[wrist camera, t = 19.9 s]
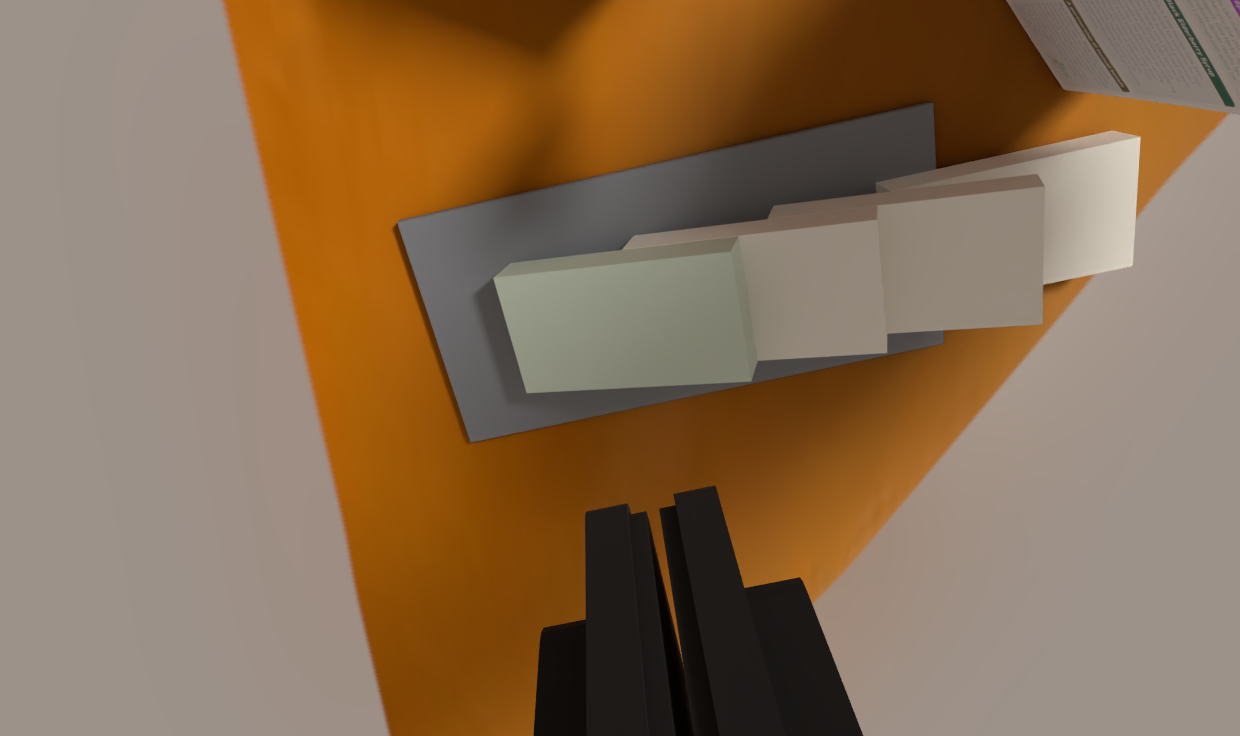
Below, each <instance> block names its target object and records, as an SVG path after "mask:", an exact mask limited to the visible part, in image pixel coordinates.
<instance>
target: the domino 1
mask: <svg viewBox="0 0 1240 736" xmlns="http://www.w3.org/2000/svg"><path fill="white" fill-rule="evenodd" d="M493 279H494V282H495V286H496V289H497V293H498V296H499V300H500V303H501V306H502V310H503V313H504V317H505V320H506V324H507V327H508V331H509V334H510V337H511V341H512V344H513V348H514V351H515V355H516V358H517V362H518V365H519V368H520V372H521V375H522V379H523V382H524V386H525V389H526V393H541V392H560V391H579V390H598V389H618V388H637V387H656V386H676V385H695V384H714V383H733V382H751V381H752V378H753V374H754V371H755V368H756V365H757V354H756V348H755V341H754V334H753V328H752V321H751V315H750V308H749V301H748V295H747V288H746V282H745V275H744V268H743V262H742V255H741V249H740V242H739V236H737V237H728V238H720V239H711V240H702V241H694V242H685V243H677V244H668V245H660V246H651V247H642V248H634V249H625V250H617V251H608V252H600V253H591V254H583V255H574V256H565V257H557V258H548V259H540V260H531V261H523V262H514V263H510V264H509V265H508V266H507V267H505V268H504V269H503V270H502V271H501V272H500V273H498V274H497V275H496V276H495V277H494V278H493Z"/></svg>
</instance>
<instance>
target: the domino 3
mask: <svg viewBox="0 0 1240 736" xmlns="http://www.w3.org/2000/svg"><path fill="white" fill-rule="evenodd" d="M872 206H878V216H879V229H880V243H881V256H882V270H883V283H884V296H885V310H886V323H887V334H890V333H907V332H924V331H941V330H957V329H974V328H991V327H1008V326H1024V325H1041V324H1042V320H1043V265H1044V209H1045V186H1044V184H1043V182H1042V180H1041V179H1040V177H1039V175H1038V174H1032V175H1024V176H1015V177H1007V178H999V179H990V180H982V181H974V182H966V183H957V184H949V185H941V186H932V187H924V188H916V189H908V190H899V191H891V192H883V193H874V194H866V195H858V196H850V197H841V198H833V199H825V200H816V201H808V202H800V203H792V204H783V205H775V206H773V208H772V210H771V212H770V214H769V216H768V219H774V218H782V217H790V216H798V215H806V214H815V213H823V212H831V211H839V210H847V209H856V208H864V207H872Z"/></svg>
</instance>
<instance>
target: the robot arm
mask: <svg viewBox="0 0 1240 736" xmlns="http://www.w3.org/2000/svg"><path fill="white" fill-rule="evenodd" d="M674 499H675V504H676V505H675V506H670V507H665V508H660V517H661V523H662V529H663V536H664V542H665V549H666V555H667V562H668V568H669V574H670V581H671V587H672V594H673V600H674V607H675V613H676V619H677V626H678V632H679V639H680V645H681V652H682V658H683V662H682V658H681V654H680V650H679V645H678V641H677V637H676V633H675V628H674V624H673V620H672V616H671V612H670V607H669V603H668V599H667V595H666V591H665V586H664V582H663V578H662V574H661V570H660V565H659V561H658V557H657V553H656V548H655V544H654V540H653V536H652V532H651V527H650V523H649V519H648V515H647V512H646V511H645V512H640V513H635V514H631V511H630V508H629V505H628V503H627V504H622V505H617V506H612V507H607V508H602V509H597V510H593V511H588V512H586V515H585V552H586V620H581V621H576V622H571V623H566V624H561V625H556V626H550V627H545V628H543V630H542V632H541V638H540V647H539V662H538V677H537V692H536V707H535V722H534V736H863V734H862V731H861V729H860V726H859V724H858V721H857V718H856V716H855V713H854V711H853V708H852V706H851V703H850V700H849V698H848V695H847V693H846V690H845V688H844V685H843V683H842V680H841V677H840V675H839V672H838V670H837V667H836V664H835V662H834V659H833V657H832V654H831V652H830V649H829V646H828V644H827V641H826V639H825V636H824V634H823V631H822V628H821V626H820V624H819V621H818V618H817V616H816V613H815V610H814V608H813V605H812V603H811V600H810V598H809V595H808V593H807V590H806V588H805V585H804V583H803V581H802V580H801V578H800V577H799V578H794V579H789V580H784V581H779V582H774V583H769V584H764V585H759V586H754V587H748V588H744V585H743V582H742V578H741V575H740V571H739V568H738V564H737V560H736V557H735V553H734V550H733V546H732V543H731V539H730V536H729V532H728V529H727V525H726V521H725V518H724V514H723V511H722V507H721V504H720V500H719V497H718V493H717V490H716V487H715V486H711V487H706V488H701V489H696V490H691V491H686V492H681V493H676V494H674ZM683 664H684V667H683Z"/></svg>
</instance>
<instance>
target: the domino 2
mask: <svg viewBox="0 0 1240 736" xmlns="http://www.w3.org/2000/svg"><path fill="white" fill-rule="evenodd" d="M737 236H739V242H740V249H741V255H742V262H743V268H744V275H745V282H746V288H747V295H748V301H749V308H750V315H751V321H752V328H753V334H754V341H755V348H756V354H757V361H763V360H779V359H796V358H813V357H830V356H846V355H863V354H880V353H887V323H886V310H885V296H884V283H883V270H882V256H881V243H880V229H879V216H878V206H872V207H864V208H856V209H847V210H839V211H831V212H823V213H815V214H806V215H798V216H790V217H782V218H774V219H765V220H757V221H749V222H741V223H733V224H724V225H716V226H708V227H700V228H692V229H683V230H675V231H667V232H659V233H650V234H642V235H634V236H633V237H632V238H631V240H630V241H629V242H628V243H627V244H626V245H625V246H624V248H623V249H622V250H625V249H634V248H642V247H651V246H660V245H668V244H677V243H685V242H694V241H702V240H711V239H720V238H728V237H737Z"/></svg>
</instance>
